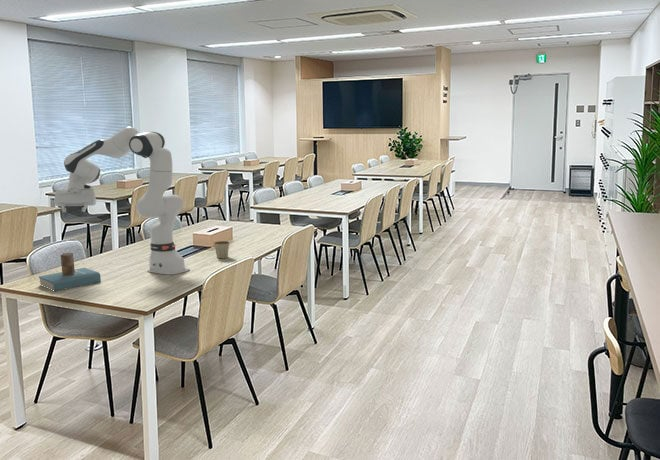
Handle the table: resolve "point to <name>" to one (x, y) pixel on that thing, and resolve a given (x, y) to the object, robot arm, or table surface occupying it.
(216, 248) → the flower pot
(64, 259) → the walnut block
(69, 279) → the book
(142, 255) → the table surface
